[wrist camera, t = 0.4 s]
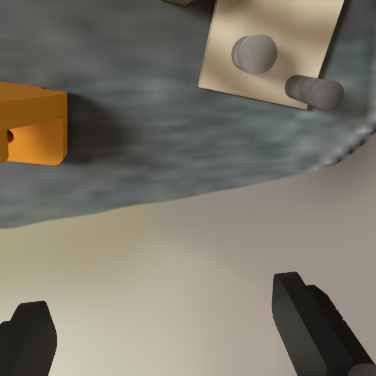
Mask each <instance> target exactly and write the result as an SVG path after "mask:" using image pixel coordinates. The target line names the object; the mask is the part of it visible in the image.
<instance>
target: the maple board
mask: <svg viewBox="0 0 376 376" xmlns="http://www.w3.org/2000/svg"><path fill="white" fill-rule="evenodd" d="M343 2H344V0H216V2H215V7H214V11H213V16H212V21H211V26H210V30H209V35H208V40H207V45H206V50H205V54H204V59H203V64H202V69H201V73H200V78H199V83H198V86H199V87H201V88H206V89H211V90H216V91H220V92H225V93H230V94H235V95H239V96H244V97H249V98H254V99H259V100H263V101H268V102H273V103H278V104H282V105H287V106H292V107H297V108H301V109H306V110H307V107H308V104H309V105H312V106H315V107H318V108H320V109H323V110H331V109H334V108H335V107H337V106H338V105H339V104H340V102H341V101H342V99H343V95H344V91H343V87H342V85H341V84H340V83H338V82H336V81H331V80H326V79H320V78H318V75H319V72H320V69H321V66H322V63H323V60H324V57H325V55H326V52H327V49H328V46H329V43H330V40H331V37H332V34H333V31H334V28H335V26H336V23H337V20H338V17H339V14H340V11H341V8H342V5H343Z"/></svg>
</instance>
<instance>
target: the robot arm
mask: <svg viewBox="0 0 376 376" xmlns="http://www.w3.org/2000/svg"><path fill="white" fill-rule="evenodd" d="M272 313H273V318H274V321H275V324H276V327H277V329H278V331H279V333H280V336H281V338H282V340H283V343H284V345H285V347H286V350H287V352H288V354H289V357H290V359H291V361H292V364H293V366H294V368H295V371H296V373H297V375H298V376H376V365H375V364H374V362H373V361H372V360H371V358H370V357H369V355H368V354H367V353H366V351H365V350H364V348H363V347H362V345H361V344H360V342H359V341H358V339H357V338H356V336H355V335H354V333H353V332H352V331H351V329H350V328H349V326H348V325H347V323H346V322H345V321H344V320H343V318H342V316H341V314H340V313H339V312H338V310H336V308H335V306H334V304H333V303H332V301H331V300H330V299H329V297H328V295H327V294H325V293H324V292H323V291H322V290H320V289H319V288H318V287H316V286H315V285H307V286H306V285H305V284H304V282H303V280H302V279H301V277H300V275H299V274H298V273H297V272H288V273H279V274H275V275H274V279H273V296H272ZM56 347H57V333H56V330H55V327H54V324H53V321H52V318H51V316H50V312H49V309H48V306H47V303H46V302H45V301H37V302H28V303H21V304H20V305H19V306H18V307H17V309H16V310H15V312H14V314H13V316H12V318H11V320H10V321H5V322H2V323H1V324H0V376H48V374H49V371H50V368H51V365H52V361H53V358H54V355H55V352H56Z"/></svg>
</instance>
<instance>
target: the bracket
mask: <svg viewBox="0 0 376 376" xmlns="http://www.w3.org/2000/svg"><path fill="white" fill-rule="evenodd" d="M8 130H10V131H11V132H12V133H13V136H12V135H11V134H10V133H9V131H8ZM66 155H67V92H64V91H57V90H49V89H43V87H36V86H28V85H21V84H14V83H6V82H0V164H1V163H3V162H5V161H14V162H24V163H34V164H44V165H58V164H60V163H61V162H62V160H63V159H64V158H65V157H66Z"/></svg>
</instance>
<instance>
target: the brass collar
mask: <svg viewBox="0 0 376 376" xmlns="http://www.w3.org/2000/svg"><path fill="white" fill-rule="evenodd" d="M164 1H168V2H172V3H176V4H180V5H184V6H187V5H188V4H189V3H191V2H192V1H193V0H164Z"/></svg>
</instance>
